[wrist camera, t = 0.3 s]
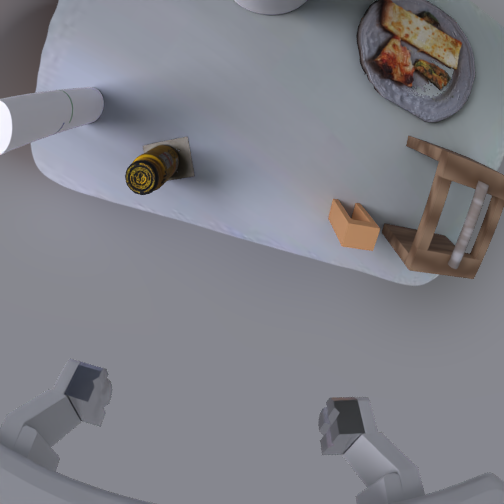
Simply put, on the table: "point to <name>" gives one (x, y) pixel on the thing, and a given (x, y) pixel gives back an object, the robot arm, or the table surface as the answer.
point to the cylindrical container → (46, 114)
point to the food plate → (415, 56)
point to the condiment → (160, 165)
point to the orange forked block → (353, 226)
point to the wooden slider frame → (424, 239)
